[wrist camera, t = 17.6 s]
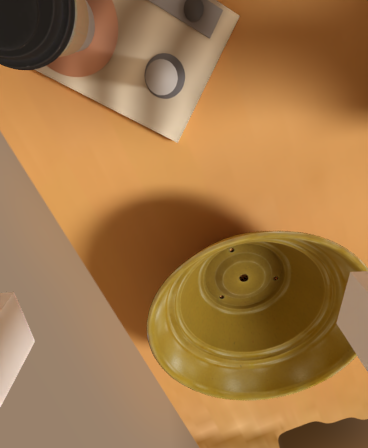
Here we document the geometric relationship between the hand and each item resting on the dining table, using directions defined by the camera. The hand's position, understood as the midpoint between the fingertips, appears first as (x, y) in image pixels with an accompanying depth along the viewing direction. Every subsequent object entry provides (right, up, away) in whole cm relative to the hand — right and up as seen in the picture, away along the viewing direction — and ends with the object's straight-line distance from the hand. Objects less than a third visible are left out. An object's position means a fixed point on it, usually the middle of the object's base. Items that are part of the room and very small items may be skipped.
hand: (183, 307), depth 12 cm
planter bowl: (+10, -6, +40) cm, 42 cm away
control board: (-7, +26, +23) cm, 35 cm away
